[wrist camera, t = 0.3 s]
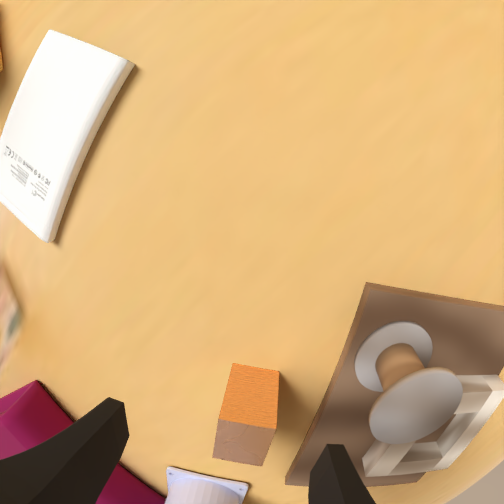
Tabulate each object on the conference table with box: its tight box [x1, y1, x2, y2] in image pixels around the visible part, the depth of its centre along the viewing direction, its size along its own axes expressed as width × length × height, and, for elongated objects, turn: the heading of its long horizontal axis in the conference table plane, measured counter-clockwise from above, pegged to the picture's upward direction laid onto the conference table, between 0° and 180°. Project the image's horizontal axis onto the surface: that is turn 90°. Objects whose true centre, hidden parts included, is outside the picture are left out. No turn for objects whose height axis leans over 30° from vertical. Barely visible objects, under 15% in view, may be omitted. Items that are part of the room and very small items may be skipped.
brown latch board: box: [285, 282, 504, 487], centre depth 16 cm, size 20×14×6 cm
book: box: [0, 380, 166, 504], centre depth 24 cm, size 21×28×8 cm
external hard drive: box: [0, 29, 135, 243], centre depth 15 cm, size 2×8×12 cm
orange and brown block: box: [212, 363, 279, 466], centre depth 17 cm, size 4×3×5 cm
